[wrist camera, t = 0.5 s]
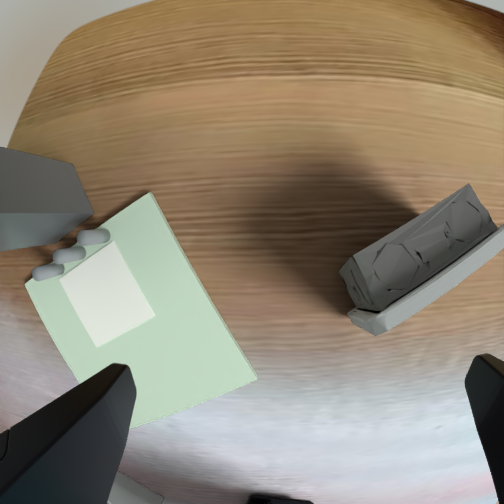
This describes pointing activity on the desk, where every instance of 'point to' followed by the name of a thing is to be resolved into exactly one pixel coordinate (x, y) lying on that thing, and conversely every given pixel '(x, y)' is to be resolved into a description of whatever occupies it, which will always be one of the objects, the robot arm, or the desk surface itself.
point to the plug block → (38, 200)
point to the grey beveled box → (131, 492)
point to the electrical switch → (420, 261)
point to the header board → (139, 314)
